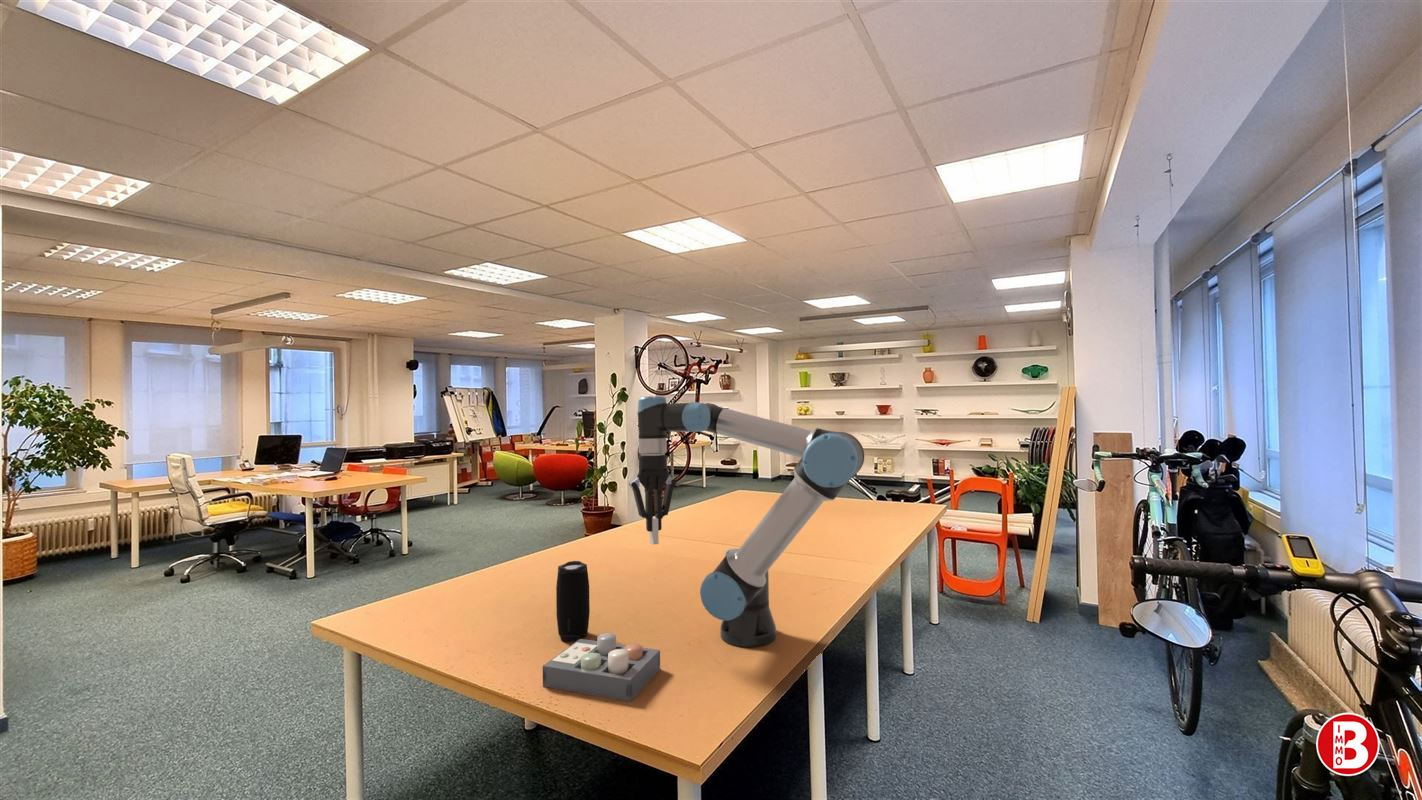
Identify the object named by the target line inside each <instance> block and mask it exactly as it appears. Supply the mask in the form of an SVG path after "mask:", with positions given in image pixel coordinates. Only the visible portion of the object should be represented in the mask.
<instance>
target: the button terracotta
mask: <svg viewBox="0 0 1422 800" xmlns="http://www.w3.org/2000/svg"><path fill="white" fill-rule="evenodd" d="M626 645H627V646H625V647H624V650H627V651H628V660H634V661H639V660H640V659H641V658H642V657H643V648H644V647H643V645H642V644H640V643H631V644H626ZM630 669H631V668H628V670H630Z"/></svg>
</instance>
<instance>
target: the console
mask: <svg viewBox="0 0 1422 800" xmlns="http://www.w3.org/2000/svg"><path fill="white" fill-rule="evenodd" d="M627 645H628V644H619V643H616V649H624V647H625V646H627ZM587 653H597V640H591V639H585V638H584V639H583V638H578V639H577V641H574V643H572V644H570V645H569V646H568V647H567V648H565V649H564V650H563V651H561V652H560V653H558V654H557V655H555V656H554V657H553V658H551V659H550V660H549V661H547V662H545V664H542V687H544V688H545V687H547V688H552V689H557V690H563V691H569V692H574V693H578V694H580V693H581V694H586V695H590V696H596V697H601V698H608V699H613V700H619V701H623V702H629V703H630V702H632V701H633V699H634V698H635V697H636V696H637V695H638V694H639V693H640V692H641V690H643V688H645V687H646V686H647V684H648V683H649V682H650V681H651V680H652V678H653V677H655V675H656V674H657V673H658V672H659V671H660V670H661V649H655V648H648V647H643V657H642V658H641V659H640V660H639V661H634V660H628V668H631V669H630V670H629V671H628V672H627V673H625V674H624V675H617V674H610V673H608V657H607V656H601V666H600V667H599V668H598V669H597V670H596V671H592V670H585V669H581V657H582V656H583V655H585V654H587Z"/></svg>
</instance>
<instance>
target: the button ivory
mask: <svg viewBox="0 0 1422 800" xmlns="http://www.w3.org/2000/svg"><path fill="white" fill-rule="evenodd" d="M628 671H629V670H628V651H627V650H624V649H616V650H613V651H610V652H609V653H608V673H610V674H617V675H624V674H625V673H627V672H628Z"/></svg>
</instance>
